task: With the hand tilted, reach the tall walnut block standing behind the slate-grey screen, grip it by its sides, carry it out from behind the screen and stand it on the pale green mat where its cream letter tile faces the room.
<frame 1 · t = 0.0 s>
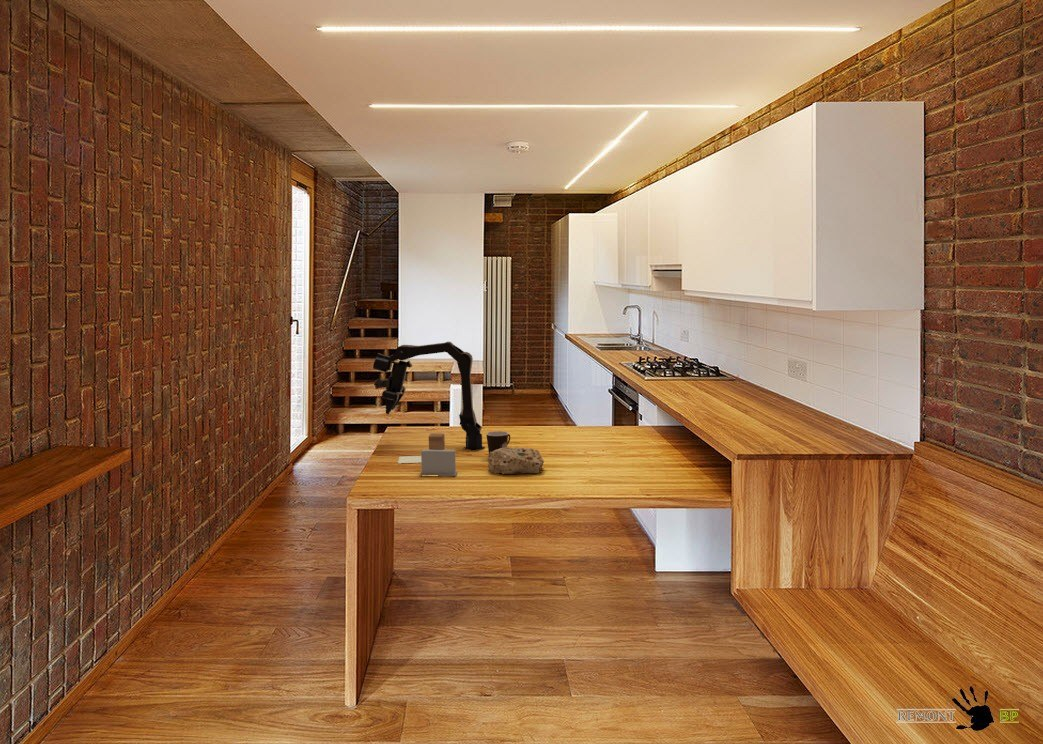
hand: (389, 411, 309), 15 cm above the table, tool pointing down, fingers open, 9 cm apart
coffee mug: (501, 458, 295), on the table
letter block: (437, 469, 279), on the table
mat: (411, 460, 292), on the table
rock: (516, 472, 276), on the table
screen: (438, 474, 271), on the table
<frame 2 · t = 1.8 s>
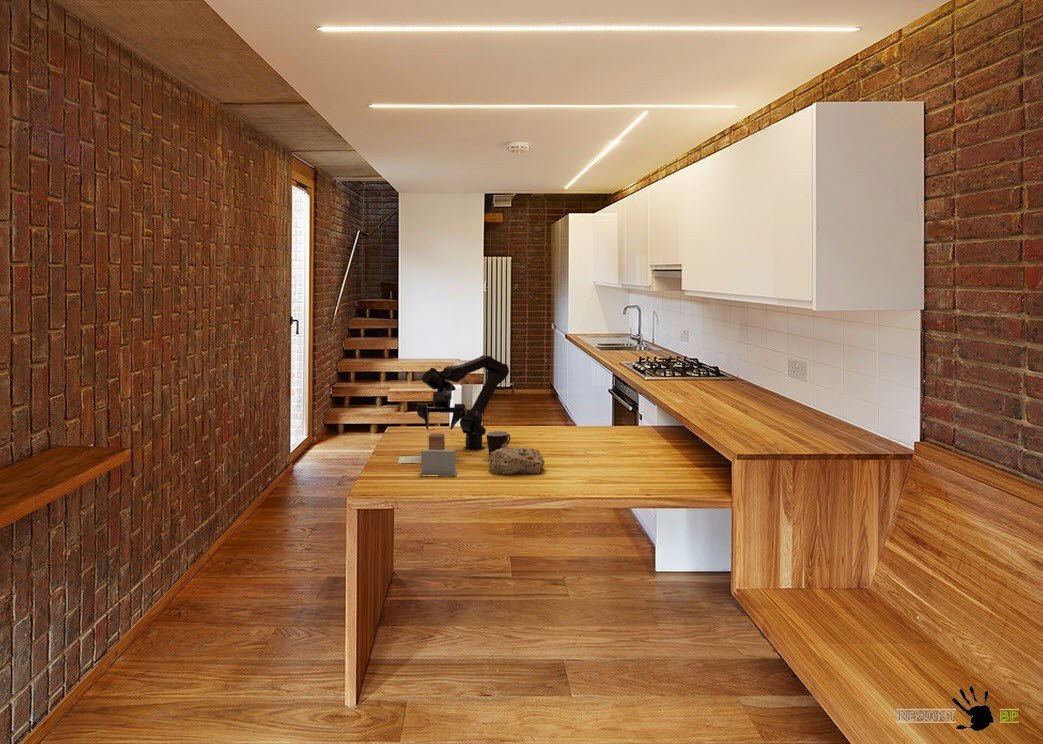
hand: (439, 429, 285), 13 cm above the table, tool tilted 45°, fingers open, 9 cm apart
nothing on the table moved.
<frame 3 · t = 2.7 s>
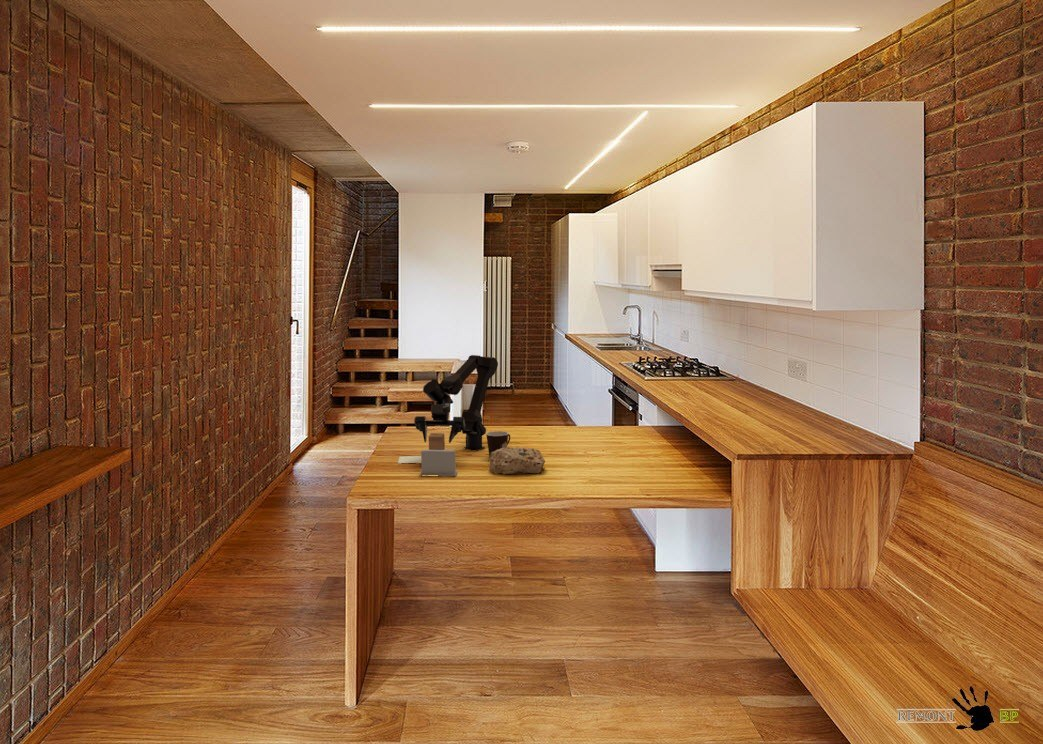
hand: (437, 442, 280), 10 cm above the table, tool tilted 45°, fingers open, 9 cm apart
nothing on the table moved.
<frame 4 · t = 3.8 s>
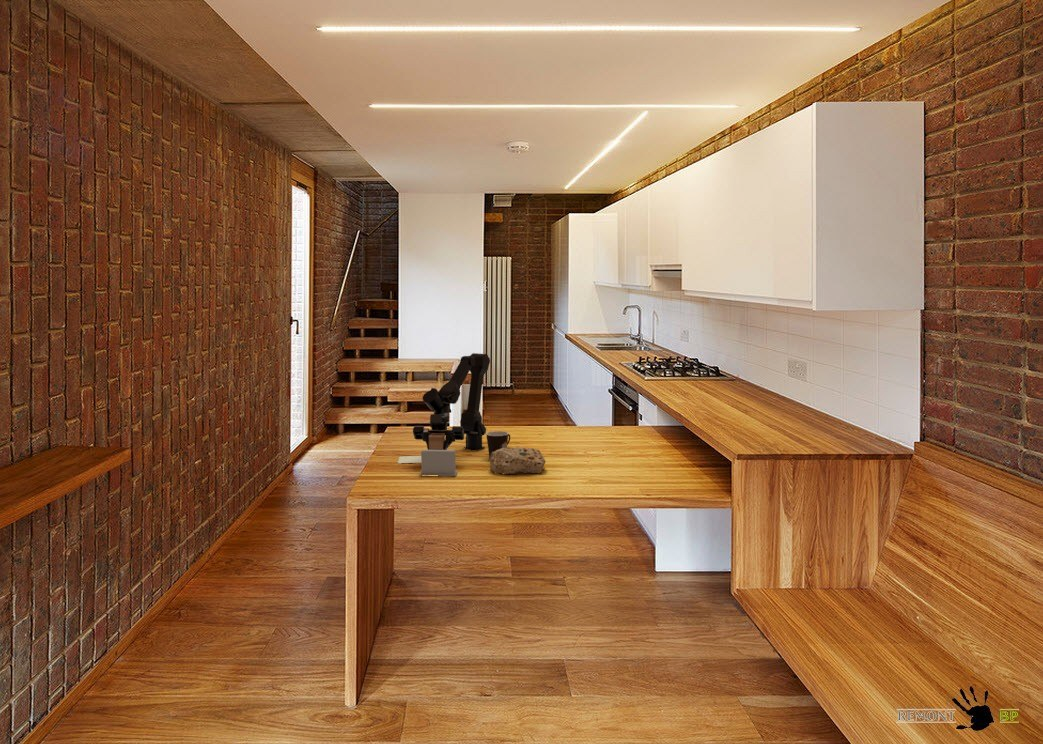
hand: (436, 452, 277), 7 cm above the table, tool tilted 45°, fingers closed on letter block, 5 cm apart
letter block: (437, 468, 279), on the table, touching gripper
everything else where it was.
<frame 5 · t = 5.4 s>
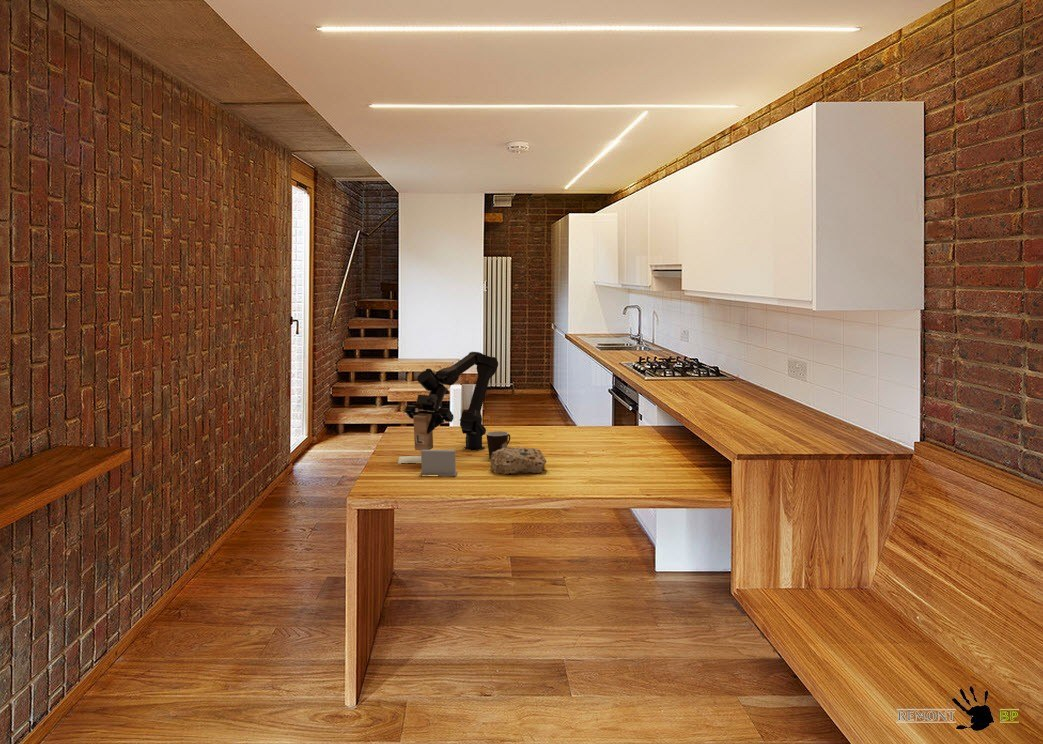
hand: (421, 432, 281), 13 cm above the table, tool tilted 45°, fingers closed on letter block, 5 cm apart
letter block: (424, 448, 283), point 6 cm above the table, touching gripper
everything else where it was.
when the fingers open (8 cm above the table, at t = 7.3 s): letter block drops 1 cm, resting on mat.
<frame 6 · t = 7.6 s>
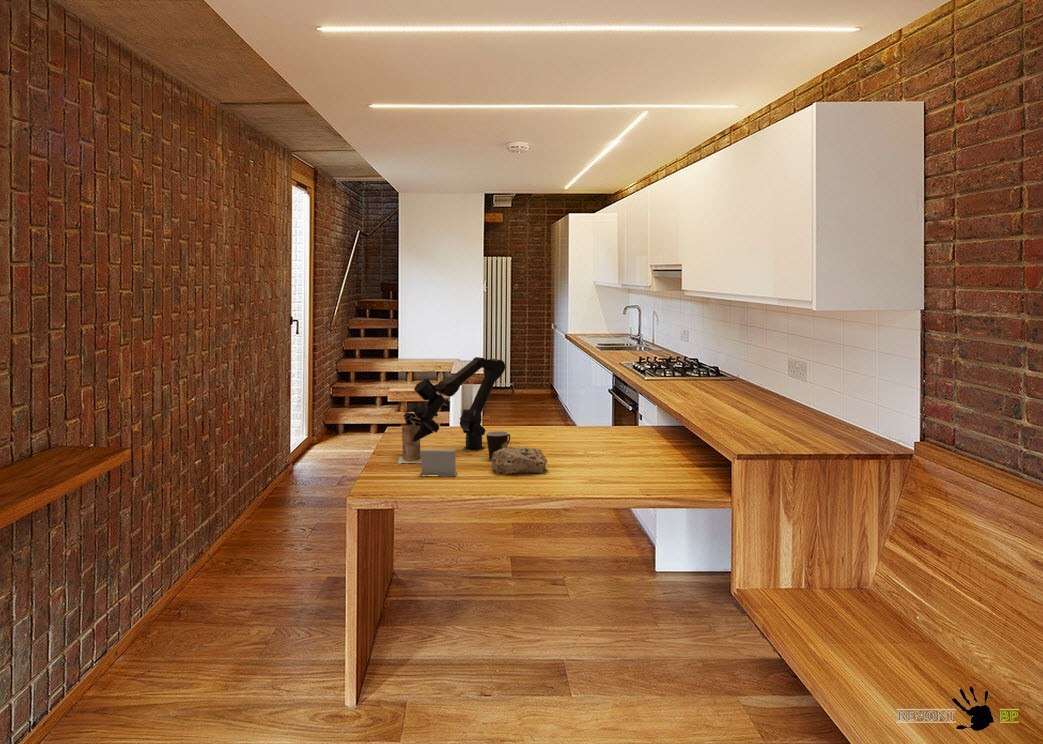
hand: (408, 439, 290), 9 cm above the table, tool tilted 45°, fingers open, 8 cm apart
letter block: (411, 459, 292), resting on mat
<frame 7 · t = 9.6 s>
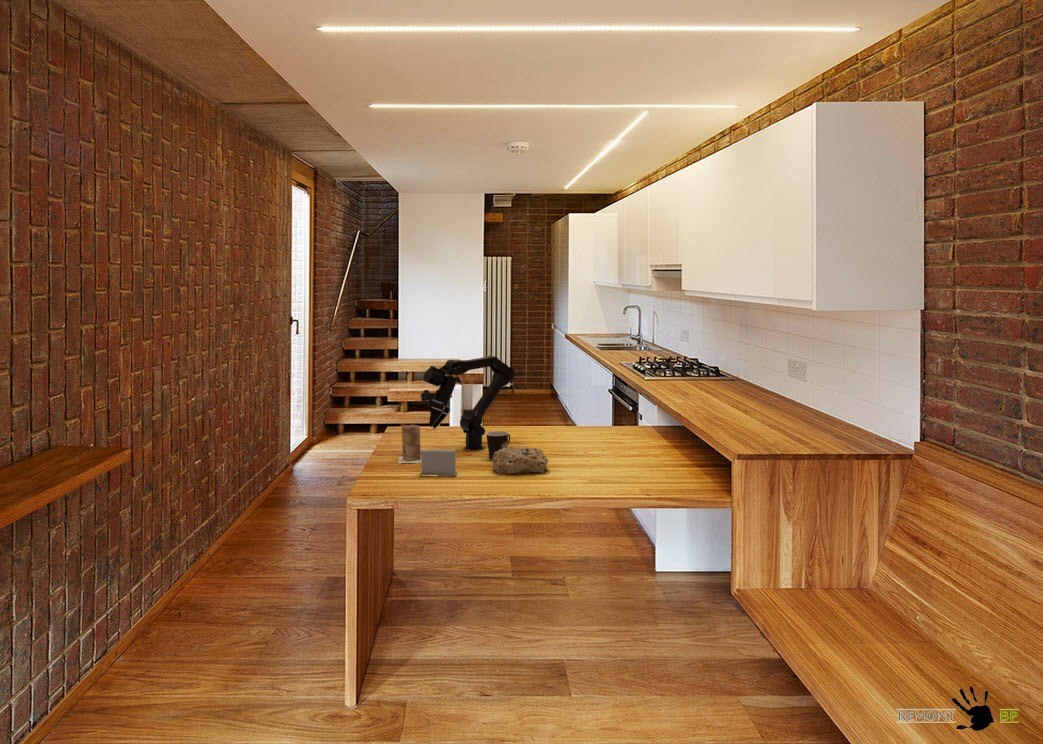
hand: (432, 427, 297), 12 cm above the table, tool tilted 25°, fingers open, 9 cm apart
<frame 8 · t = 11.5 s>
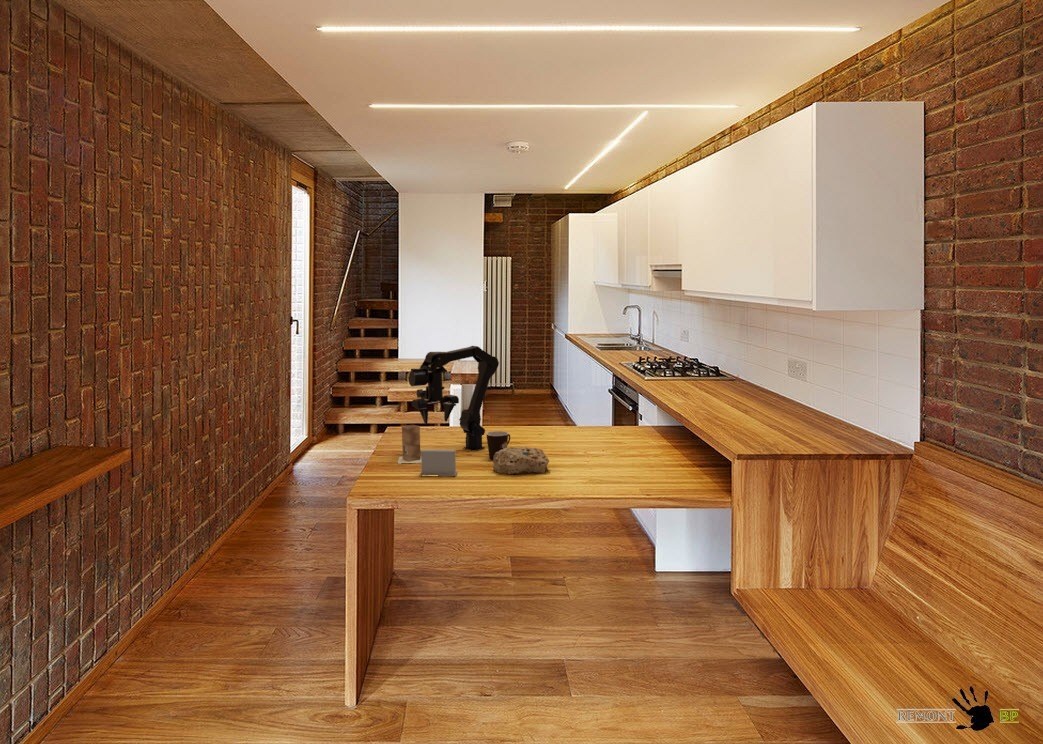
hand: (435, 422, 298), 13 cm above the table, tool pointing down, fingers open, 9 cm apart
at the end: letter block inside the target area on the mat (0.0 cm from its centre), point 0.4 cm above the mat's base; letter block tilted 0°; the gripper is holding nothing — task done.
